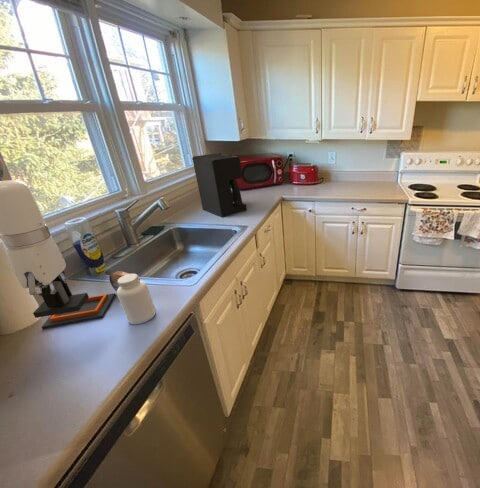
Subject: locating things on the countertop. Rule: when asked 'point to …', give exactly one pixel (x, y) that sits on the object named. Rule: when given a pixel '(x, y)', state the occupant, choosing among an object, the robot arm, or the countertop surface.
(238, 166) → the coffee maker
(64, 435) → the countertop surface
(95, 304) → the base pad
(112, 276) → the tin
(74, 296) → the stud pad
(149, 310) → the pill bottle
